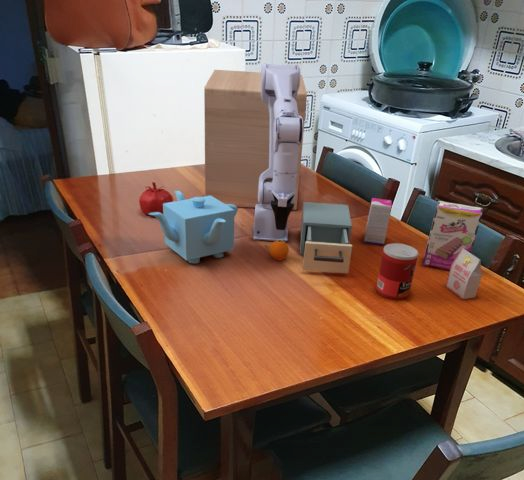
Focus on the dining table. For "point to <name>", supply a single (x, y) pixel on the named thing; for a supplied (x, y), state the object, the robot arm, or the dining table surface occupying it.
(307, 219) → the cabinet
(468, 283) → the white box
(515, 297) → the dining table surface
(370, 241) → the supplement box
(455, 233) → the candy bar box
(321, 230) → the drawer
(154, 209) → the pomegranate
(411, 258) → the canned food
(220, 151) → the storage cube
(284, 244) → the orange
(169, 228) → the teakettle
